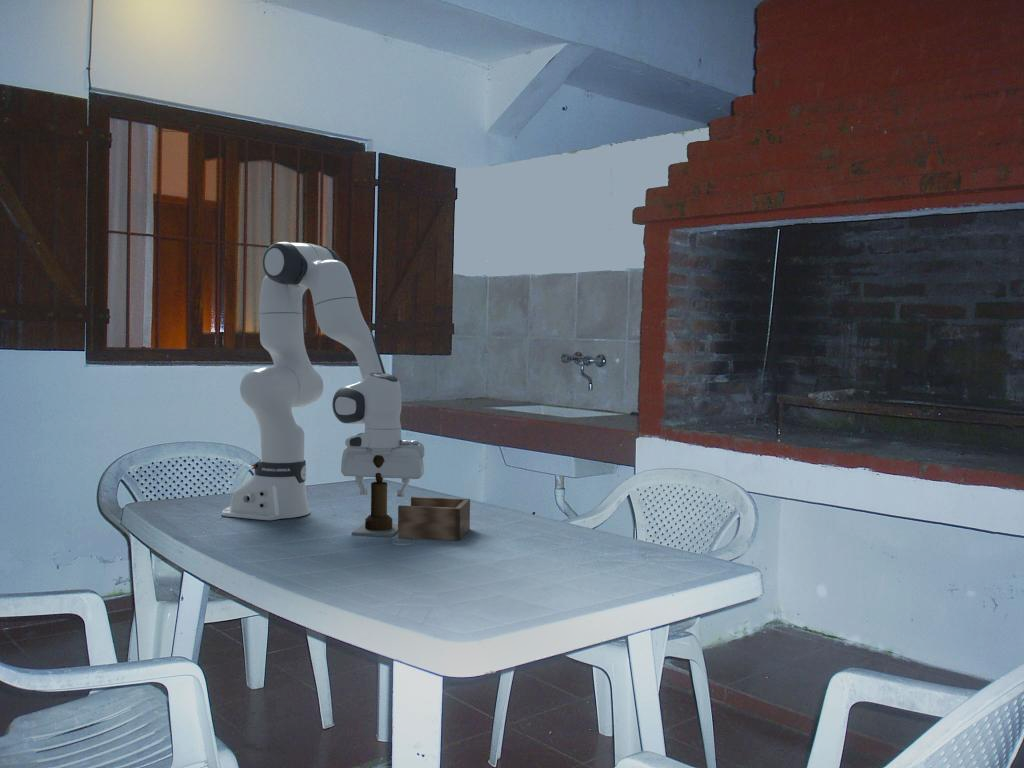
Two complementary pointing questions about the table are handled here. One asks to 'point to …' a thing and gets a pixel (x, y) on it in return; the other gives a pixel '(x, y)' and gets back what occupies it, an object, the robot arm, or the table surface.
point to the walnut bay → (434, 518)
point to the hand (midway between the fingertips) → (382, 495)
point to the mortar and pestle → (378, 502)
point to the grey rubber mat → (376, 531)
